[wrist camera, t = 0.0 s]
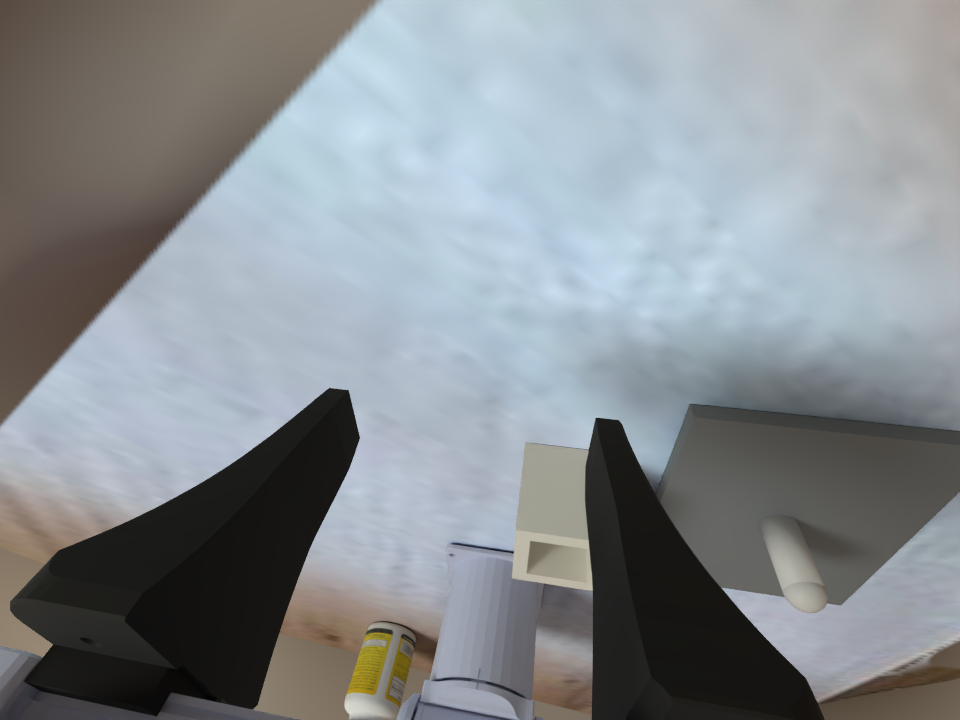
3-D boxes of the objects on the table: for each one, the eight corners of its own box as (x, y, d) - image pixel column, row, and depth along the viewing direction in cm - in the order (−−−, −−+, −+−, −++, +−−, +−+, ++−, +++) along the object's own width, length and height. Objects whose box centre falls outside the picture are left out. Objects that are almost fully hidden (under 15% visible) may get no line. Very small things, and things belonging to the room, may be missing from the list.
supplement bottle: (362, 630, 51) (325, 741, 43) (377, 615, 48) (340, 731, 40) (406, 647, 52) (378, 758, 44) (424, 632, 48) (396, 750, 41)
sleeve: (595, 502, 30) (599, 592, 26) (521, 492, 31) (511, 578, 26) (608, 452, 27) (615, 544, 23) (525, 442, 28) (515, 529, 23)
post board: (834, 590, 32) (878, 690, 28) (630, 560, 34) (639, 649, 29) (988, 434, 22) (1097, 547, 18) (690, 403, 24) (718, 499, 20)
